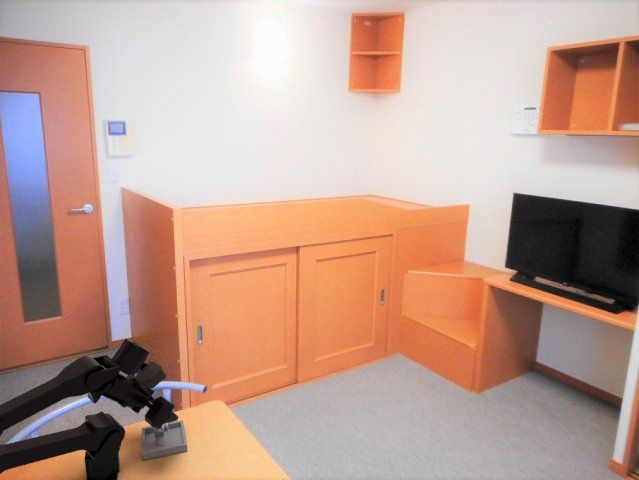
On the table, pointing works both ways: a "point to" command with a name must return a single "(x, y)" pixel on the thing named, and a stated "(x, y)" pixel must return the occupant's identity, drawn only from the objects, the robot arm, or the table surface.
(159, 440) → the milkshake
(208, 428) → the table surface
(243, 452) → the table surface
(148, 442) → the tray
